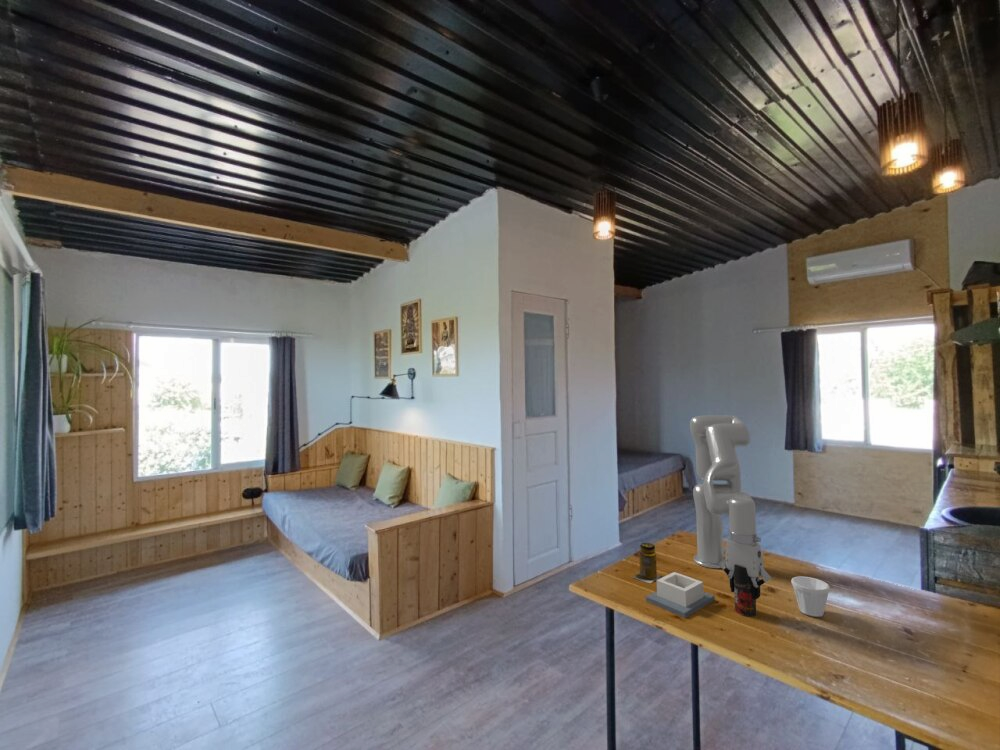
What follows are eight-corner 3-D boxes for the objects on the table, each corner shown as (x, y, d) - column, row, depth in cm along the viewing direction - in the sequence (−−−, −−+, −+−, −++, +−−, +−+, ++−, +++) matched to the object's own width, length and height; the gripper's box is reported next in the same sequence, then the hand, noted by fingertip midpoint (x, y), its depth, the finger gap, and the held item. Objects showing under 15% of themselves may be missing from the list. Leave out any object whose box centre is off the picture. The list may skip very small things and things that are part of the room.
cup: (837, 622, 135) (836, 591, 135) (800, 619, 137) (799, 589, 137) (821, 606, 145) (820, 577, 145) (786, 603, 147) (785, 575, 147)
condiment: (661, 576, 170) (660, 544, 170) (650, 584, 164) (649, 550, 164) (643, 571, 175) (642, 540, 175) (632, 578, 169) (631, 545, 169)
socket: (676, 585, 162) (675, 567, 162) (714, 600, 151) (713, 580, 151) (646, 601, 151) (645, 581, 151) (684, 617, 140) (683, 596, 140)
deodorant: (730, 609, 144) (729, 562, 145) (744, 605, 146) (742, 559, 147) (746, 618, 139) (744, 569, 139) (760, 614, 141) (759, 566, 141)
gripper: (777, 541, 138) (779, 601, 138) (722, 528, 152) (723, 582, 152) (766, 547, 134) (768, 609, 134) (710, 533, 148) (712, 588, 147)
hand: (744, 594), depth 143 cm, fingers closed on deodorant, 5 cm apart
